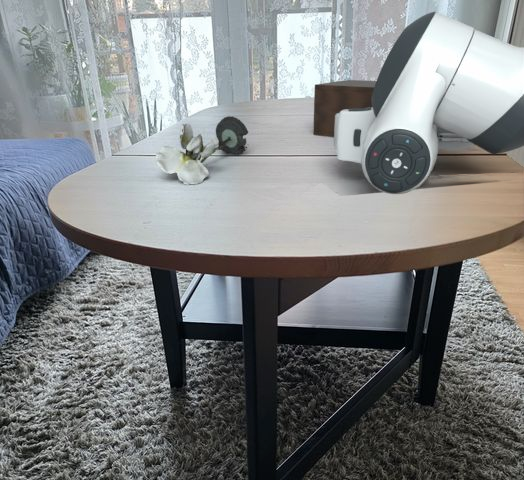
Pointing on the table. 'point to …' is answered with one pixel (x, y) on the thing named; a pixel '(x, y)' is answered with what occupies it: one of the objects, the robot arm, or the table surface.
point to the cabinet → (339, 102)
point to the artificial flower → (201, 150)
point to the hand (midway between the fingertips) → (405, 121)
